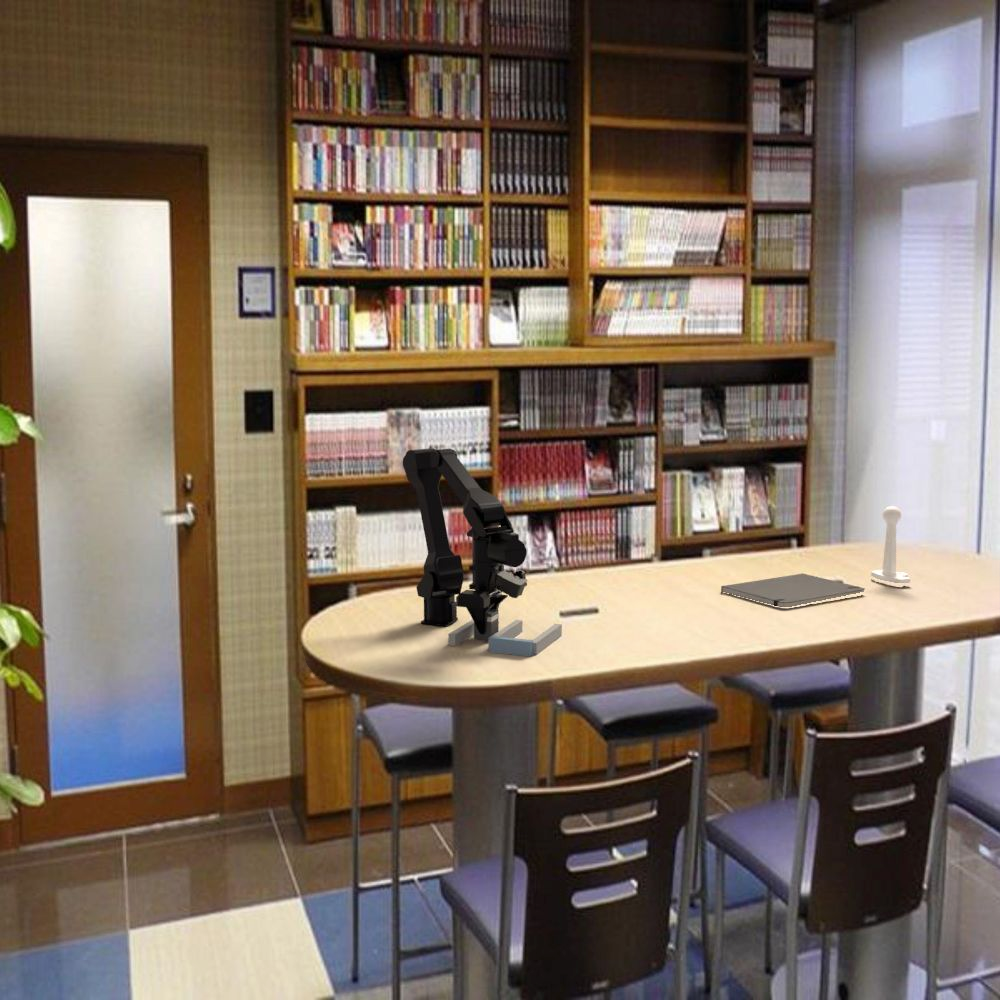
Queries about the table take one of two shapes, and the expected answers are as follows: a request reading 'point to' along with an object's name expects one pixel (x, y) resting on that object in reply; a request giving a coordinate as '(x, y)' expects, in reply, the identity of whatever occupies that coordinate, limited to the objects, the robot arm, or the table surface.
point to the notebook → (791, 590)
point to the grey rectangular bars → (509, 639)
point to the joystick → (891, 550)
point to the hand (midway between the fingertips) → (486, 631)
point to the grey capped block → (488, 626)
